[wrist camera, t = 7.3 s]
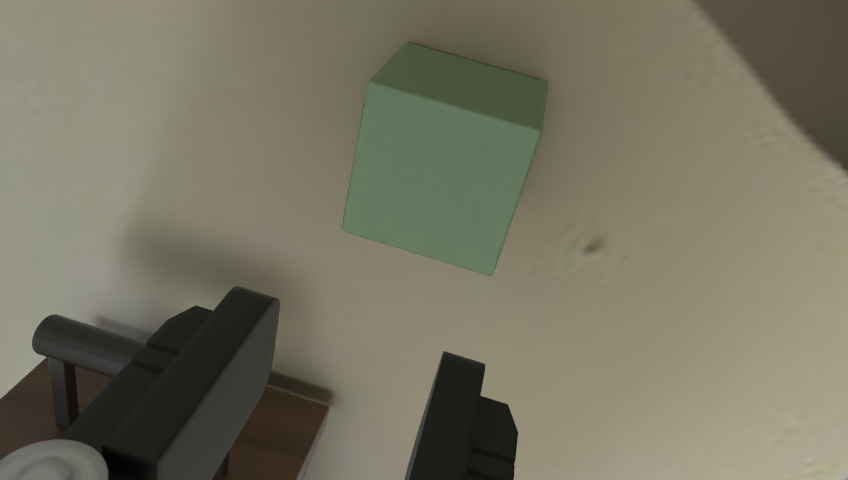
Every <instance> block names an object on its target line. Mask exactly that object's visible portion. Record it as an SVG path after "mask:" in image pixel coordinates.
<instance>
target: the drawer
mask: <svg viewBox="0 0 848 480" xmlns="http://www.w3.org/2000/svg"><path fill="white" fill-rule="evenodd" d="M146 345H147V343H144V342H141V341H138V340H135V339H131V338H128V337H125V336H122V335H119V334H116V333H113V332H110V331H106V330H103V329H100V328H97V327H94V326H91V325H88V324H85V323H81V322H78V321H75V320H72V319H69V318H66V317H63V316H60V315H50V316H48V317H46V318H45V319H44V320H43V321H42V322H41V323H40V324H39V326H38V327H37V329H36V331H35V333H34V336H33V340H32V347H33V350H34V351H35V352H36V353H37V354H40V355H43V356H46V358H45V359H44V360H43V361H42V362H41V363H40V364H39V365H37V366H36V367H35V368H34V369H33V370H32V371H31V372H30V373H29V374H28V375H26V376H25V377H24V378H23V379H22V380H21V381H20V382H19V383H18V384H17V385H15V386H14V387H13V388H12V389H11V390H10V391H9V392H8V393H7V394H6V395H4V396H3V397H2V398H1V399H0V460H2V459H3V458H5V457H6V456H7V455H9V454H11V453H12V452H14V451H16V450H18V449H20V448H23V447H25V446H28V445H30V444H34V443H38V442H41V441H48V440H56V439H58V438H59V437H60V436H61V435H62V434H63V433H64V432H65V431H66V430H67V429H68V427H69V426H70V425H71V424H72V423H73V422H74V421H75V420H76V419H77V418H78V417H79V415H80V414H81V413H82V412H83V411H84V410H85V409H86V408H87V407H88V406H89V405H90V404H91V402H92V401H93V400H94V399H95V398H96V397H97V396H98V395H99V394H100V393H101V392H102V390H103V389H104V388H105V387H106V386H107V385H108V384H109V383H110V382H111V381H112V380H113V378H114V377H115V376H116V375H117V374H118V373H119V372H120V371H121V370H122V369H123V368H124V367H125V365H126V364H128V365H129V364H130V362H131V359H132V358H133V357H134V356H135V355H136V353H137V352H138V351H139V350H140V349H141V348H142V347H143V346H146ZM328 413H329V406H326V405H323V404H320V403H317V402H314V401H310V400H307V399H304V398H301V397H298V396H295V395H292V394H289V393H286V392H282V391H279V390H276V389H273V388H270V387H267V386H266V387H265V389H264V392H263V394H262V396H261V398H260V400H259V401H258V403H257V405H256V406H255V408H254V410H253V411H252V413H251V415H250V416H249V418H248V420H247V421H246V423H245V425H244V426H243V428H242V430H241V431H240V433H239V435H238V436H237V438H236V440H235V441H234V443H233V445H232V446H231V448H230V450H229V451H228V453H227V455H226V456H225V458H224V460H223V461H222V463H221V465H220V466H219V468H218V470H217V471H216V473H215V475H214V476H213V478H212V480H301V479H302V477H303V475H304V473H305V470H306V468H307V466H308V464H309V462H310V459H311V457H312V455H313V453H314V450H315V448H316V446H317V444H318V442H319V439H320V437H321V435H322V433H323V430H324V428H325V426H326V422H327V417H328Z"/></svg>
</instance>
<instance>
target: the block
mask: <svg viewBox="0 0 848 480" xmlns="http://www.w3.org/2000/svg"><path fill="white" fill-rule="evenodd" d="M546 93H547V82H546V81H543V80H539V79H536V78H532V77H529V76H525V75H522V74H518V73H515V72H511V71H508V70H504V69H501V68H497V67H494V66H490V65H487V64H483V63H479V62H476V61H472V60H469V59H465V58H462V57H458V56H455V55H451V54H448V53H444V52H441V51H437V50H434V49H430V48H427V47H423V46H420V45H416V44H412V43H407V44H406V45H405V46H404V47H403V48H402V49H401V50H400V51H398V52H397V53H396V54H395V55H394V56H393V57H392V58H391V59H390V60H389V61H388V62H387V63H386V64H385V65H384V66H383V67H382V68H381V69H380V70H379V71H378V72H377V73H376V74H375V75H374V76H373V77H372V78H371V79H370V80H369V81H368V84H367V89H366V95H365V101H364V106H363V112H362V117H361V123H360V128H359V134H358V139H357V145H356V150H355V156H354V161H353V167H352V172H351V178H350V183H349V189H348V194H347V200H346V205H345V211H344V217H343V222H342V228H341V229H342V231H344V232H347V233H350V234H353V235H357V236H360V237H363V238H367V239H370V240H373V241H376V242H380V243H383V244H386V245H390V246H393V247H396V248H400V249H403V250H406V251H409V252H413V253H416V254H419V255H423V256H426V257H429V258H432V259H436V260H439V261H442V262H446V263H449V264H452V265H456V266H459V267H462V268H465V269H469V270H472V271H475V272H479V273H482V274H485V275H488V276H492V275H493V273H494V270H495V268H496V265H497V262H498V259H499V256H500V253H501V250H502V247H503V244H504V241H505V238H506V235H507V233H508V230H509V227H510V224H511V221H512V218H513V215H514V212H515V209H516V206H517V203H518V201H519V198H520V195H521V192H522V189H523V186H524V183H525V180H526V177H527V174H528V171H529V168H530V166H531V163H532V160H533V157H534V154H535V151H536V148H537V145H538V142H539V139H540V136H541V134H542V126H543V118H544V110H545V101H546Z"/></svg>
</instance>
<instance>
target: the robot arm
mask: <svg viewBox="0 0 848 480" xmlns="http://www.w3.org/2000/svg"><path fill="white" fill-rule="evenodd" d="M279 309H280V303H279V299H277V298H274V297H271V296H267V295H264V294H261V293H258V292H255V291H251V290H248V289H245V288H242V287H239V286H236V287H234V288H232V289H231V290H230V291H229V293H228V294H227V295H226V296H225V297H224V299H223V300H222V301H221V302H220V303H219V305H218V306H217V307H216V308H215V310H214V311H212V310H208V309H205V308H202V307H199V306H194V307H192V308H190V309H188V310H186V311H184V312H182V313H180V314H178V315H176V316H174V317H172V318H170V319H168V320H167V321H166V322H165V323H164V324H163V325H162V326H161V327H160V328H159V329H158V331H157V332H156V333H155V334H154V335H153V336H152V337H151V338H150V339H149V340H148V341H147V345H146V346H143V347H142V348H141V349H140V350H139V351H138V352H137V353H136V355H135V356H134V357H133V358H132V359H131V362H130V364H129V365H128V364H126V365H125V367H124V368H123V369H122V370H121V371H120V372H119V373H118V374H117V375H116V376H115V377H114V378H113V380H112V381H111V382H110V383H109V384H108V385H107V386H106V387H105V388H104V389H103V390H102V392H101V393H100V394H99V395H98V396H97V397H96V398H95V399H94V400H93V401H92V402H91V404H90V405H89V406H88V407H87V408H86V409H85V410H84V411H83V412H82V413H81V414H80V415H79V417H78V418H77V419H76V420H75V421H74V422H73V423H72V424H71V425H70V426H69V427H68V429H67V430H66V431H65V432H64V433H63V434H62V435H61V436H60V437H59V438H58V439H56V440H48V441H41V442H38V443H34V444H30V445H28V446H25V447H23V448H20V449H18V450H16V451H14V452H12V453H11V454H9V455H7V456H6V457H5V458H3V459H2V460H0V480H212V478H213V476H214V475H215V473H216V471H217V470H218V468H219V466H220V465H221V463H222V461H223V460H224V458H225V456H226V455H227V453H228V451H229V450H230V448H231V446H232V445H233V443H234V441H235V440H236V438H237V436H238V435H239V433H240V431H241V430H242V428H243V426H244V425H245V423H246V421H247V420H248V418H249V416H250V415H251V413H252V411H253V410H254V408H255V406H256V405H257V403H258V401H259V400H260V398H261V396H262V394H263V392H264V389H265V387H266V384H267V382H268V379H269V375H270V372H271V368H272V362H273V354H274V347H275V339H276V332H277V324H278V317H279ZM484 372H485V364H483V363H480V362H477V361H474V360H471V359H467V358H464V357H461V356H458V355H455V354H452V353H448V352H445V351H444V352H443V354H442V357H441V360H440V364H439V367H438V370H437V373H436V376H435V379H434V382H433V386H432V389H431V392H430V395H429V398H428V401H427V404H426V407H425V411H424V414H423V417H422V420H421V423H420V427H419V430H418V433H417V437H416V440H415V444H414V447H413V451H412V454H411V458H410V462H409V465H408V469H407V472H406V476H405V479H404V480H513V478H514V467H515V466H514V462H515V457H516V447H517V437H518V431H517V428H516V426H515V423H514V420H513V417H512V415H511V412H510V409H509V406H508V404H505V403H501V402H498V401H495V400H492V399H489V398H486V397H482V396H480V394H481V389H482V383H483V377H484Z"/></svg>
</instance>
